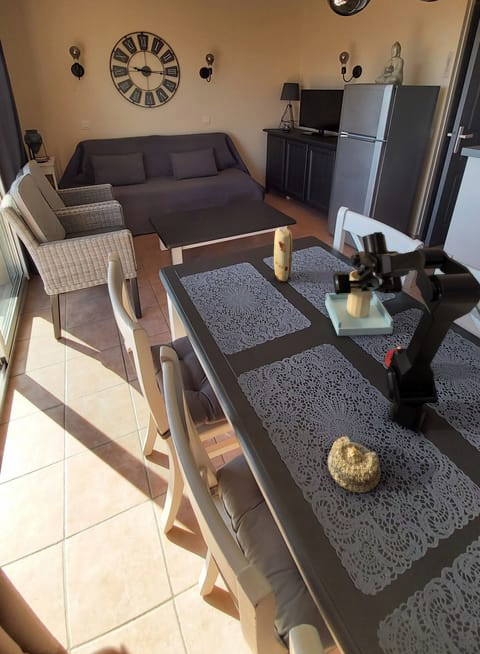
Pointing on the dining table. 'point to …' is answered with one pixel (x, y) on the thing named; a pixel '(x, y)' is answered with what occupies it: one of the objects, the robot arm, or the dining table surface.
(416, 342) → the robot arm
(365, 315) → the cup
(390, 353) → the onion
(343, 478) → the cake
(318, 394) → the dining table surface
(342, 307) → the shallow mint tray
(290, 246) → the food model
